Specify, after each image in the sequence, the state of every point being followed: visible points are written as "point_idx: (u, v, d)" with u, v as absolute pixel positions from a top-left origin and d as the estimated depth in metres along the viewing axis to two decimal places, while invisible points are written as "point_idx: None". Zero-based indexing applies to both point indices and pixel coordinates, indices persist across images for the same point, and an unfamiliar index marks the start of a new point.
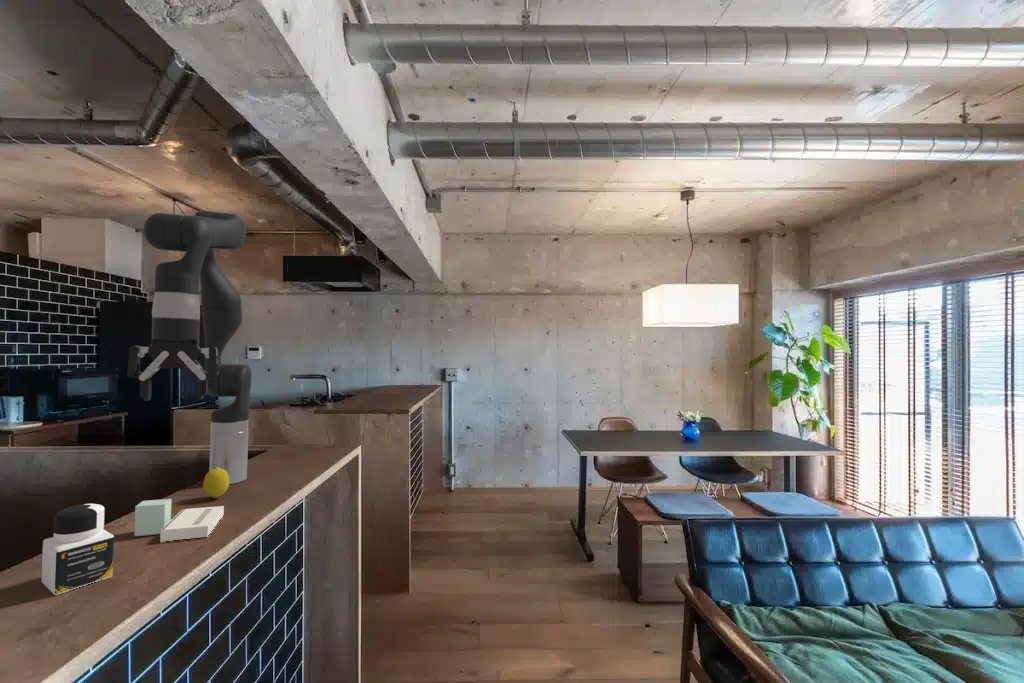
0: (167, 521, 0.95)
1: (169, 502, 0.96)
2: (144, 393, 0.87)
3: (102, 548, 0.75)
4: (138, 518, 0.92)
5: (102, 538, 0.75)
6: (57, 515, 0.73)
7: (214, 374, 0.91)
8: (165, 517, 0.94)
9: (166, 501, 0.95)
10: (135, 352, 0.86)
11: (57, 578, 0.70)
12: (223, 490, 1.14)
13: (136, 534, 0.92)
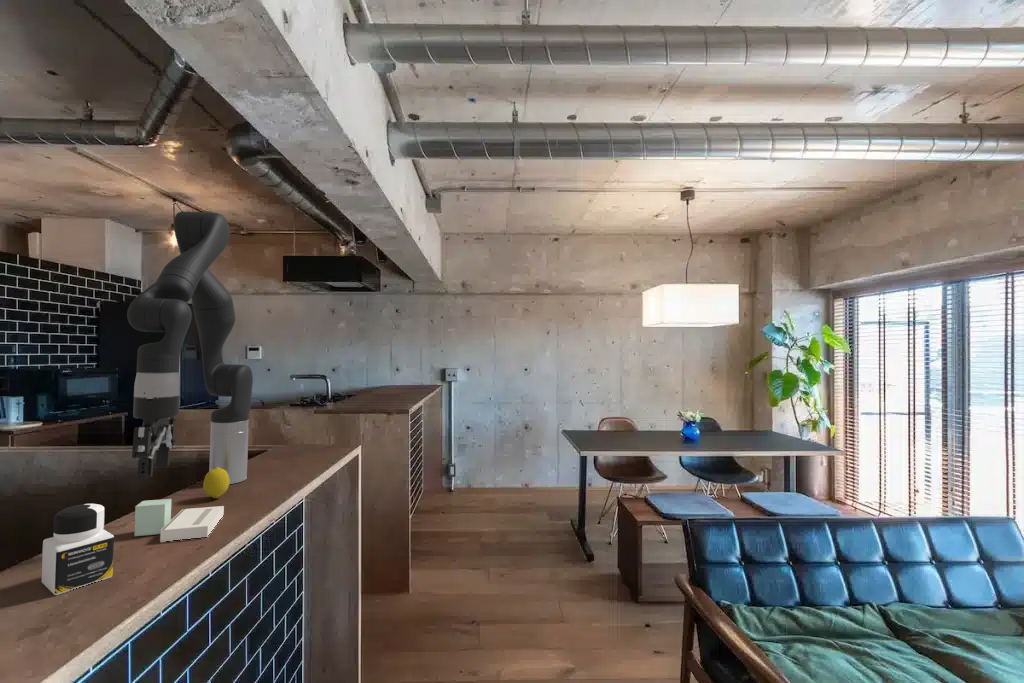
0: (167, 521, 0.95)
1: (169, 502, 0.96)
2: (148, 470, 0.90)
3: (102, 548, 0.75)
4: (138, 518, 0.92)
5: (102, 538, 0.75)
6: (57, 515, 0.73)
7: None
8: (165, 517, 0.94)
9: (166, 501, 0.95)
10: (150, 432, 0.89)
11: (57, 578, 0.70)
12: (223, 490, 1.14)
13: (136, 534, 0.92)
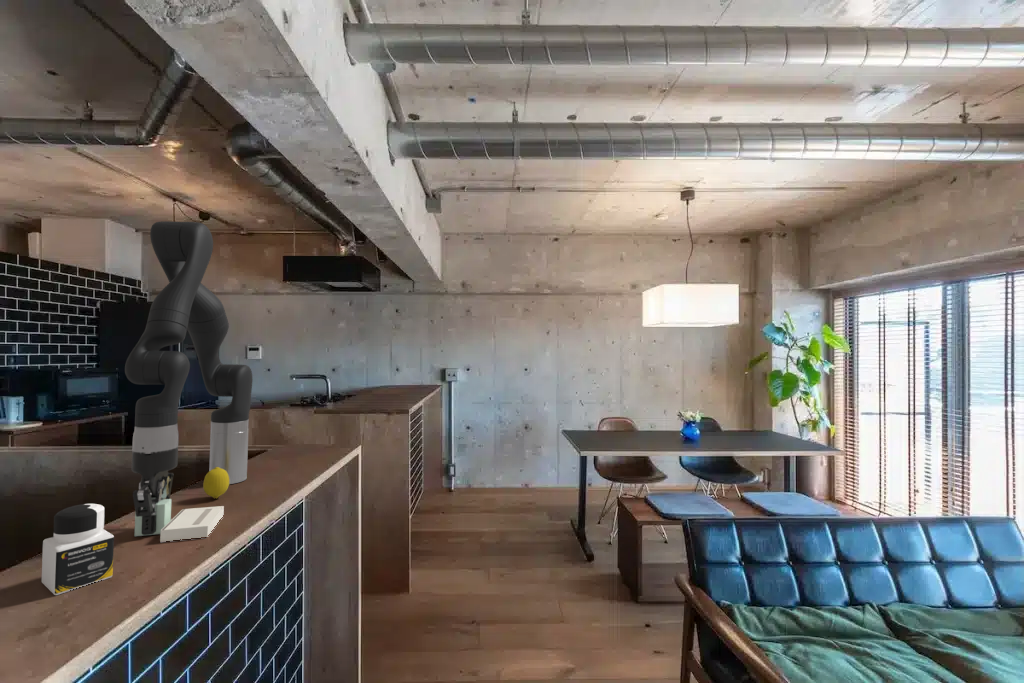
0: (167, 521, 0.95)
1: (169, 502, 0.96)
2: (152, 526, 0.92)
3: (102, 548, 0.75)
4: (138, 518, 0.92)
5: (102, 538, 0.75)
6: (57, 515, 0.73)
7: (169, 498, 0.99)
8: (165, 517, 0.94)
9: (166, 501, 0.95)
10: (150, 494, 0.90)
11: (57, 578, 0.70)
12: (223, 490, 1.14)
13: (136, 534, 0.92)
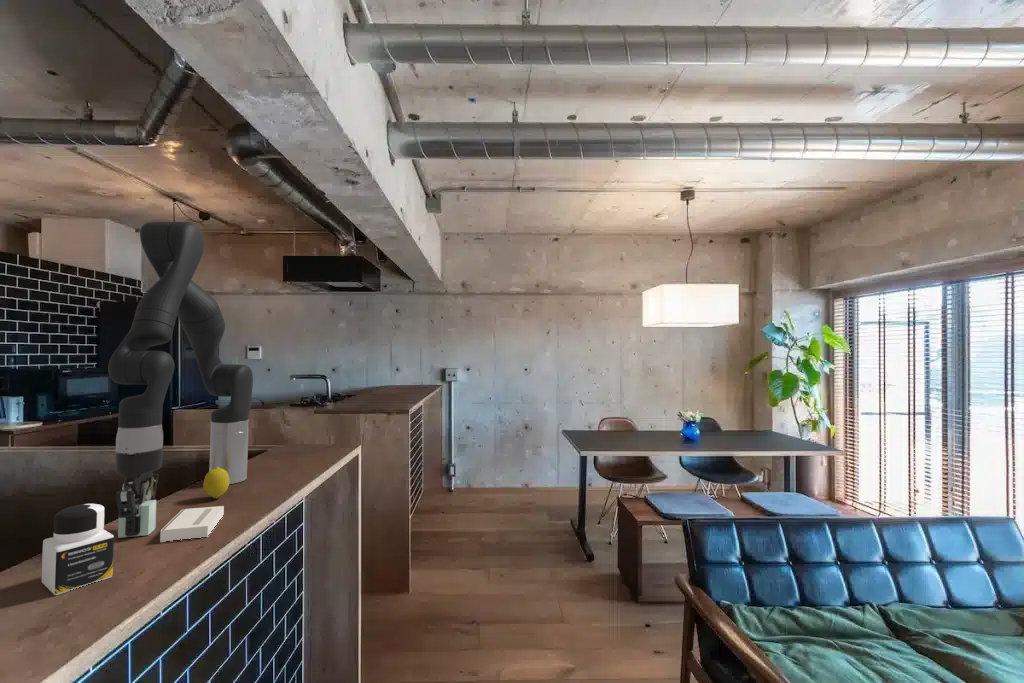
0: (151, 523, 0.94)
1: (154, 503, 0.95)
2: (136, 528, 0.91)
3: (102, 548, 0.75)
4: (122, 519, 0.91)
5: (102, 538, 0.75)
6: (57, 515, 0.73)
7: (154, 499, 0.98)
8: (149, 519, 0.93)
9: (151, 502, 0.94)
10: (133, 495, 0.89)
11: (57, 578, 0.70)
12: (223, 490, 1.14)
13: (120, 535, 0.91)
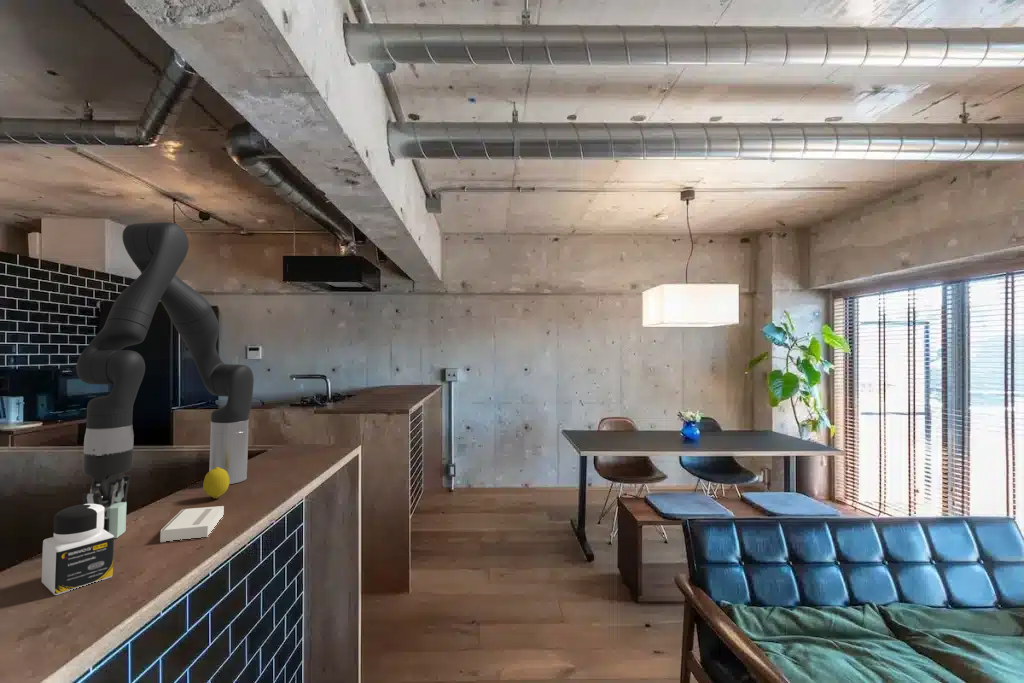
0: (121, 525, 0.92)
1: (124, 505, 0.93)
2: None
3: (102, 548, 0.75)
4: None
5: (102, 538, 0.75)
6: (57, 515, 0.73)
7: (125, 501, 0.96)
8: (118, 521, 0.91)
9: (120, 504, 0.93)
10: (100, 497, 0.87)
11: (57, 578, 0.70)
12: (223, 490, 1.14)
13: None
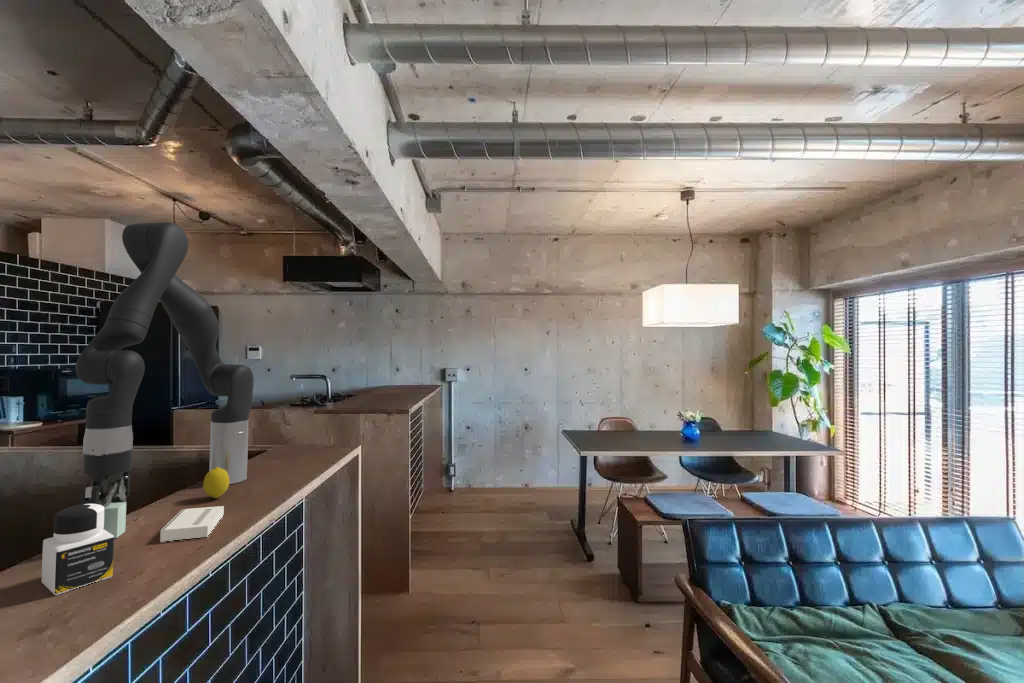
0: (121, 525, 0.92)
1: (123, 505, 0.93)
2: None
3: (102, 548, 0.75)
4: None
5: (102, 538, 0.75)
6: (57, 515, 0.73)
7: (129, 493, 0.98)
8: (118, 521, 0.91)
9: (120, 504, 0.93)
10: (98, 492, 0.87)
11: (57, 578, 0.70)
12: (223, 490, 1.14)
13: None
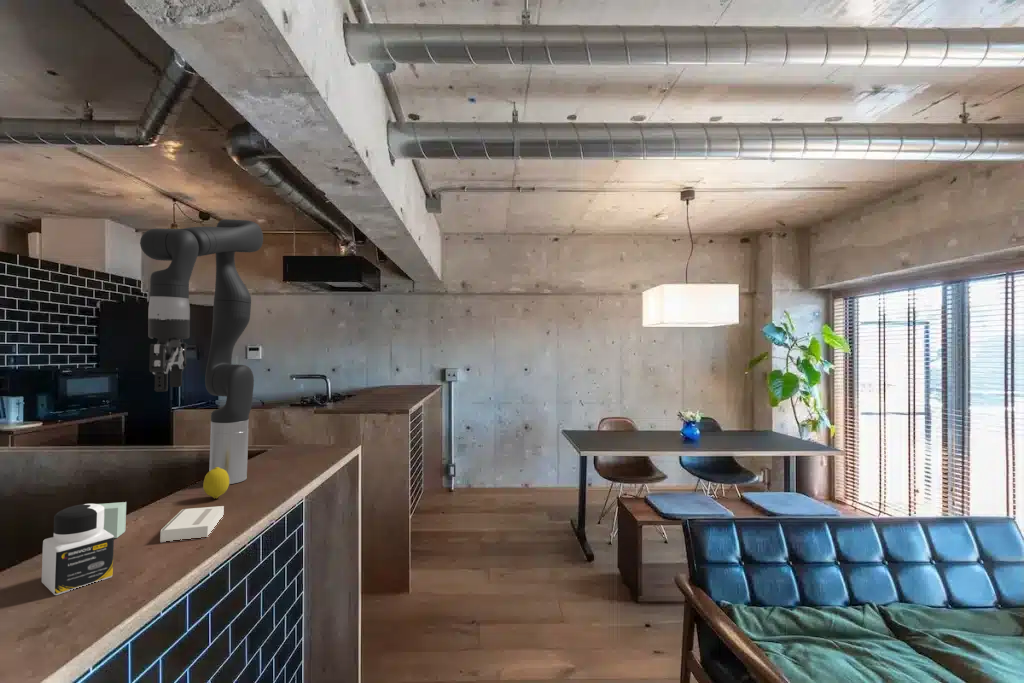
0: (121, 525, 0.92)
1: (123, 505, 0.93)
2: (164, 385, 0.99)
3: (102, 548, 0.75)
4: None
5: (102, 538, 0.75)
6: (57, 515, 0.73)
7: (186, 365, 1.10)
8: (118, 521, 0.91)
9: (120, 504, 0.93)
10: (165, 349, 0.98)
11: (57, 578, 0.70)
12: (223, 490, 1.14)
13: None
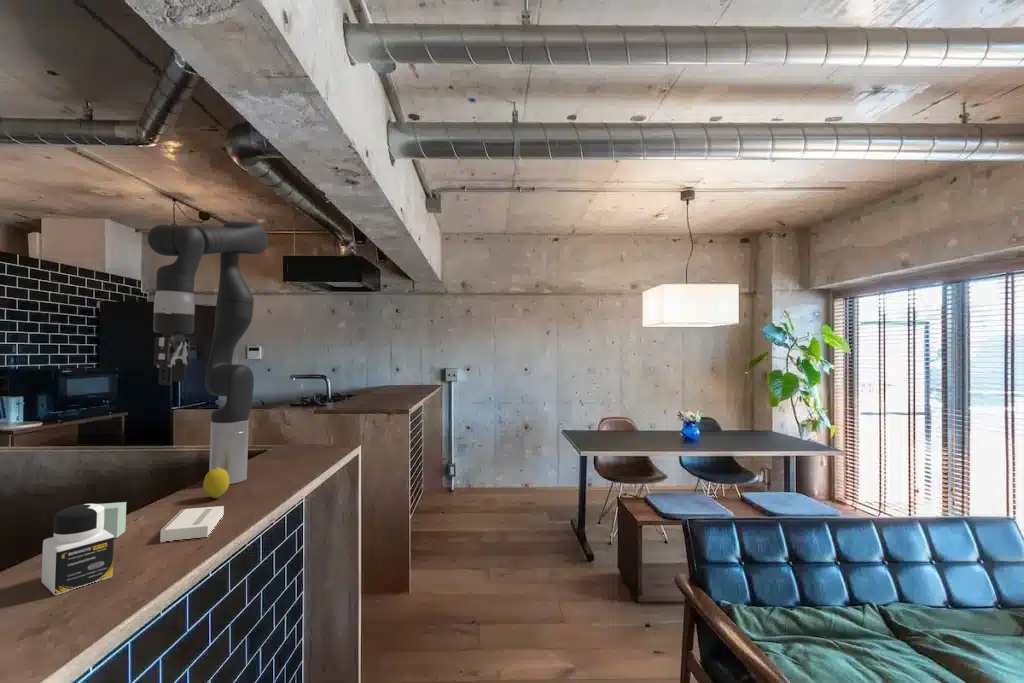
0: (121, 525, 0.92)
1: (123, 505, 0.93)
2: (168, 378, 1.00)
3: (102, 548, 0.75)
4: None
5: (102, 538, 0.75)
6: (57, 515, 0.73)
7: (189, 360, 1.11)
8: (118, 521, 0.91)
9: (120, 504, 0.93)
10: (169, 343, 0.99)
11: (57, 578, 0.70)
12: (223, 490, 1.14)
13: None
